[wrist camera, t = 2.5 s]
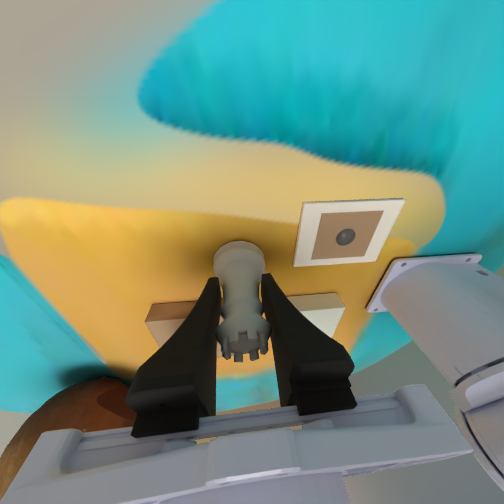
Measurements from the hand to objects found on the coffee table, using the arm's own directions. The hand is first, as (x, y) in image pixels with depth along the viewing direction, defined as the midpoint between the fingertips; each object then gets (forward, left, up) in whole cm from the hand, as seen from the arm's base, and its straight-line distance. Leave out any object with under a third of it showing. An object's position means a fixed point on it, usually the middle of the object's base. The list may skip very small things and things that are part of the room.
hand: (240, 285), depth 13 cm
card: (-9, -2, -3) cm, 10 cm away
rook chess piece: (0, 0, -3) cm, 3 cm away
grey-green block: (-7, +9, -3) cm, 12 cm away
